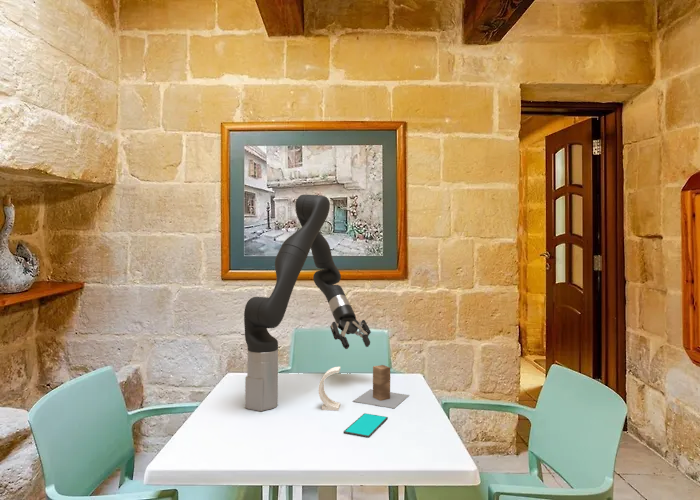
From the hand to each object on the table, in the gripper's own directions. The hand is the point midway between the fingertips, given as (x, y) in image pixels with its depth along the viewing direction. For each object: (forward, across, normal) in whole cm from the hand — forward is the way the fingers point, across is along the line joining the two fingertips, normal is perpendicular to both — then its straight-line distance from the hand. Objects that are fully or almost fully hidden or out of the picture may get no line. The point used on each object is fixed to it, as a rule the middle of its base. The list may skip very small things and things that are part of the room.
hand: (358, 346), depth 161 cm
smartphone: (+32, -16, -10) cm, 38 cm away
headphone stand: (+19, -18, +2) cm, 26 cm away
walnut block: (+20, 0, 0) cm, 20 cm away
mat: (+20, 0, +1) cm, 20 cm away
